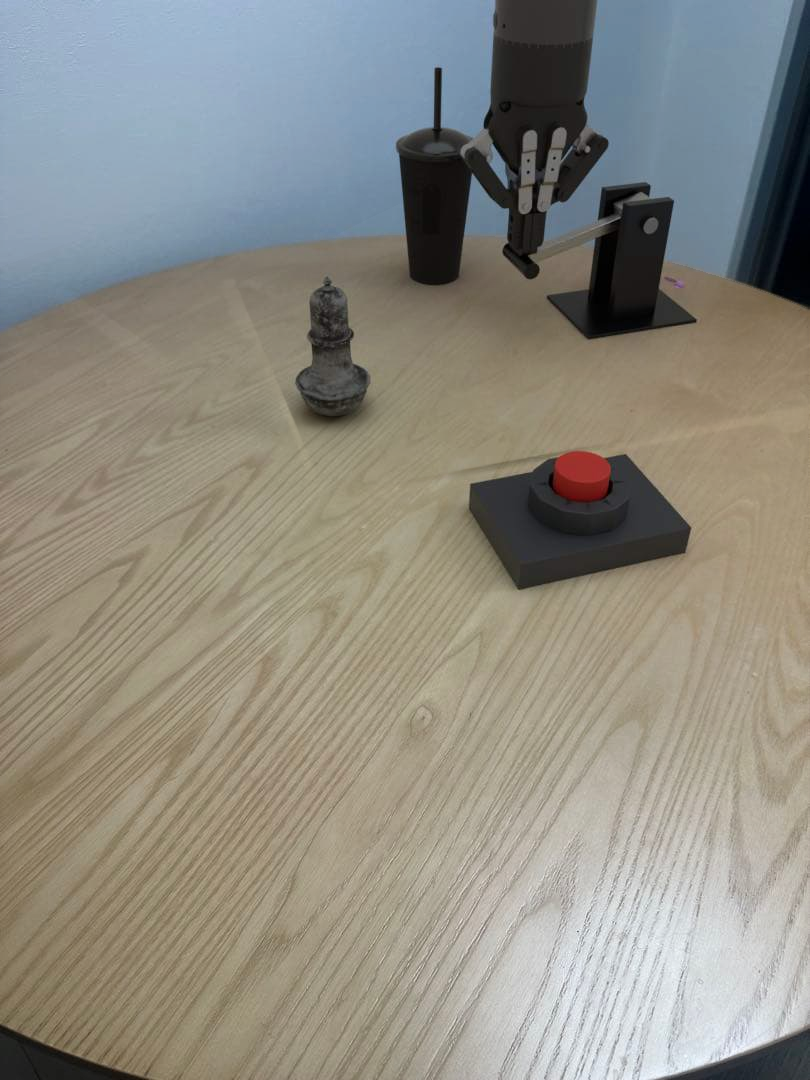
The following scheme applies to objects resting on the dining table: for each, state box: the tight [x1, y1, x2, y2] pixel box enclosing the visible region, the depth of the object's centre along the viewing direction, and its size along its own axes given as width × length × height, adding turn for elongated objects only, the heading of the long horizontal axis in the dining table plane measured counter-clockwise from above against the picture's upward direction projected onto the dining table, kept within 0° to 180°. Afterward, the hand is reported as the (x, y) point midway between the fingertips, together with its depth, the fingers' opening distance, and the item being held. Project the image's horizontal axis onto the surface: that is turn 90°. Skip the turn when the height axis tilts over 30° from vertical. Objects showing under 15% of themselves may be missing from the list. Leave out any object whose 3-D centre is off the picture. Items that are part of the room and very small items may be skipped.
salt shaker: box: [294, 275, 371, 417], centre depth 72 cm, size 6×6×12 cm
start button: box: [553, 450, 611, 503], centre depth 62 cm, size 4×4×2 cm
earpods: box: [664, 276, 685, 289], centre depth 94 cm, size 3×2×2 cm
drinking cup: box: [395, 66, 475, 286], centre depth 89 cm, size 8×8×20 cm
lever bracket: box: [546, 181, 698, 341], centre depth 86 cm, size 11×9×12 cm
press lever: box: [502, 192, 652, 280], centre depth 83 cm, size 13×5×2 cm, turn 108°
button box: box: [468, 453, 692, 591], centre depth 63 cm, size 12×9×4 cm
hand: (524, 251), depth 82 cm, fingers closed
